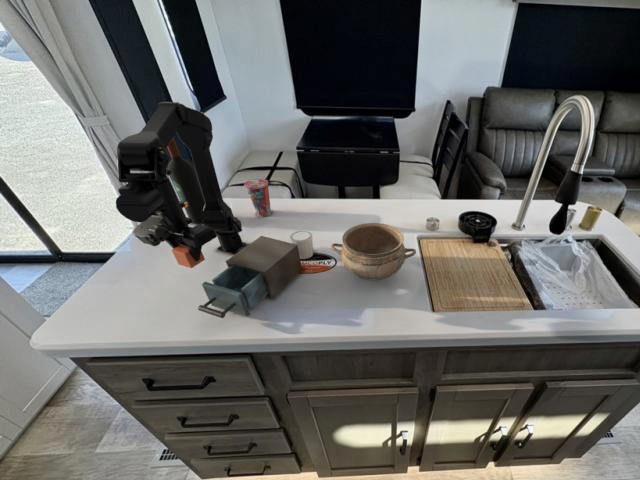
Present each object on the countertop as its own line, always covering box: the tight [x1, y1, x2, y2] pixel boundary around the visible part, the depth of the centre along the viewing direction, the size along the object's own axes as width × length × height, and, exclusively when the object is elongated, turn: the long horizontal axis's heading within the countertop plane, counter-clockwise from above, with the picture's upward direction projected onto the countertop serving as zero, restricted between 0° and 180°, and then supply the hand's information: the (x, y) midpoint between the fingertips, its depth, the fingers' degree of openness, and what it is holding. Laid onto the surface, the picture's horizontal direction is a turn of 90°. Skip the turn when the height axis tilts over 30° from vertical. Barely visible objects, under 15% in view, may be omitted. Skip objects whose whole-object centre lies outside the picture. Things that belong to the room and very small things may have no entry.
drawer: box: [197, 265, 269, 319], centre depth 84 cm, size 18×11×7 cm, turn 159°
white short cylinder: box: [289, 230, 314, 260], centre depth 104 cm, size 7×7×7 cm
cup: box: [243, 178, 272, 217], centre depth 122 cm, size 9×8×12 cm
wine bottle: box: [167, 137, 205, 225], centre depth 112 cm, size 8×8×30 cm
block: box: [171, 245, 206, 269], centre depth 83 cm, size 4×4×4 cm
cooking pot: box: [330, 222, 417, 281], centre depth 96 cm, size 25×19×12 cm
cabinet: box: [225, 235, 303, 300], centre depth 93 cm, size 15×13×9 cm
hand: (190, 258), depth 83 cm, fingers closed on block, 4 cm apart
